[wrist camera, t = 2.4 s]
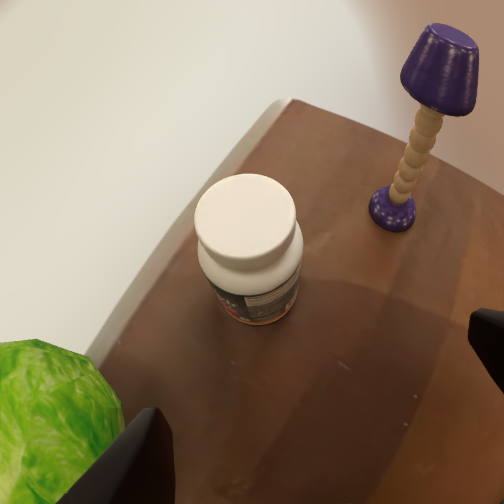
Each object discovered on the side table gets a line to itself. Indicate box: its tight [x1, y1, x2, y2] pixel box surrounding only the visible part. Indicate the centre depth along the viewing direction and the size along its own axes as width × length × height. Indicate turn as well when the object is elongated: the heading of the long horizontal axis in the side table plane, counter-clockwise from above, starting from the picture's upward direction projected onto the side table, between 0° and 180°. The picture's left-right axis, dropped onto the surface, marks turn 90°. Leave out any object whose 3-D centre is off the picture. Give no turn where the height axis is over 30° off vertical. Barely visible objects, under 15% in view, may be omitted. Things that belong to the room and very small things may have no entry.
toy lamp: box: [369, 23, 479, 232], centre depth 18 cm, size 5×5×17 cm
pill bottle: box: [194, 174, 303, 325], centre depth 19 cm, size 6×6×10 cm
